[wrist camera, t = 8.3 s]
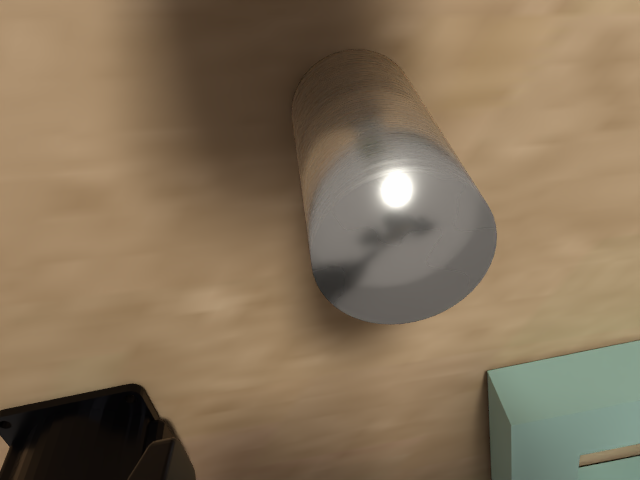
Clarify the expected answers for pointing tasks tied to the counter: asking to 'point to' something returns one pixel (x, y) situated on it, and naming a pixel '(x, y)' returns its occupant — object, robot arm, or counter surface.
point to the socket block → (566, 415)
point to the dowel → (384, 194)
